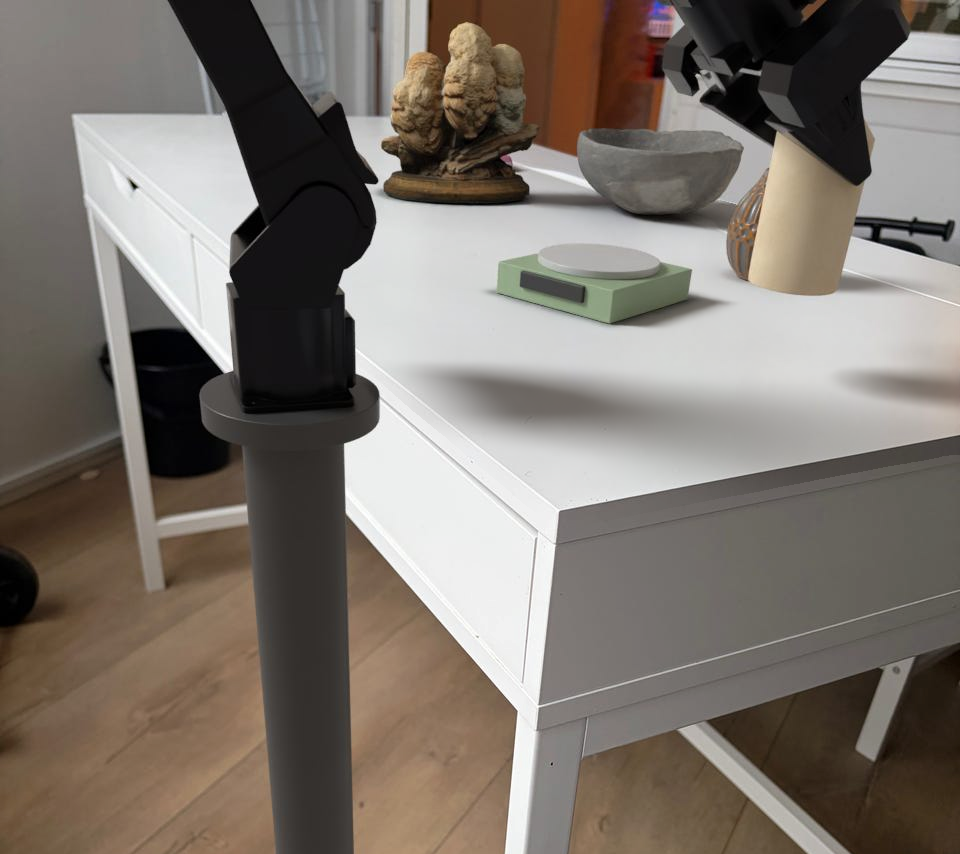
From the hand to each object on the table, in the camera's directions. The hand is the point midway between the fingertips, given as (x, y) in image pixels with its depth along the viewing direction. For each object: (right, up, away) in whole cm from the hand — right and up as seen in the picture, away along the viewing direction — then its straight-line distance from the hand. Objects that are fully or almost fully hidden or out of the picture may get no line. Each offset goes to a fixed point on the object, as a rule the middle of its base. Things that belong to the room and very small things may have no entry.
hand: (838, 171), depth 59 cm
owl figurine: (-23, +24, +56) cm, 65 cm away
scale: (-12, 0, +21) cm, 24 cm away
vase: (+4, +4, +30) cm, 30 cm away
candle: (-2, -6, +3) cm, 7 cm away
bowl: (-2, +20, +53) cm, 57 cm away
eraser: (-21, +37, +77) cm, 88 cm away
